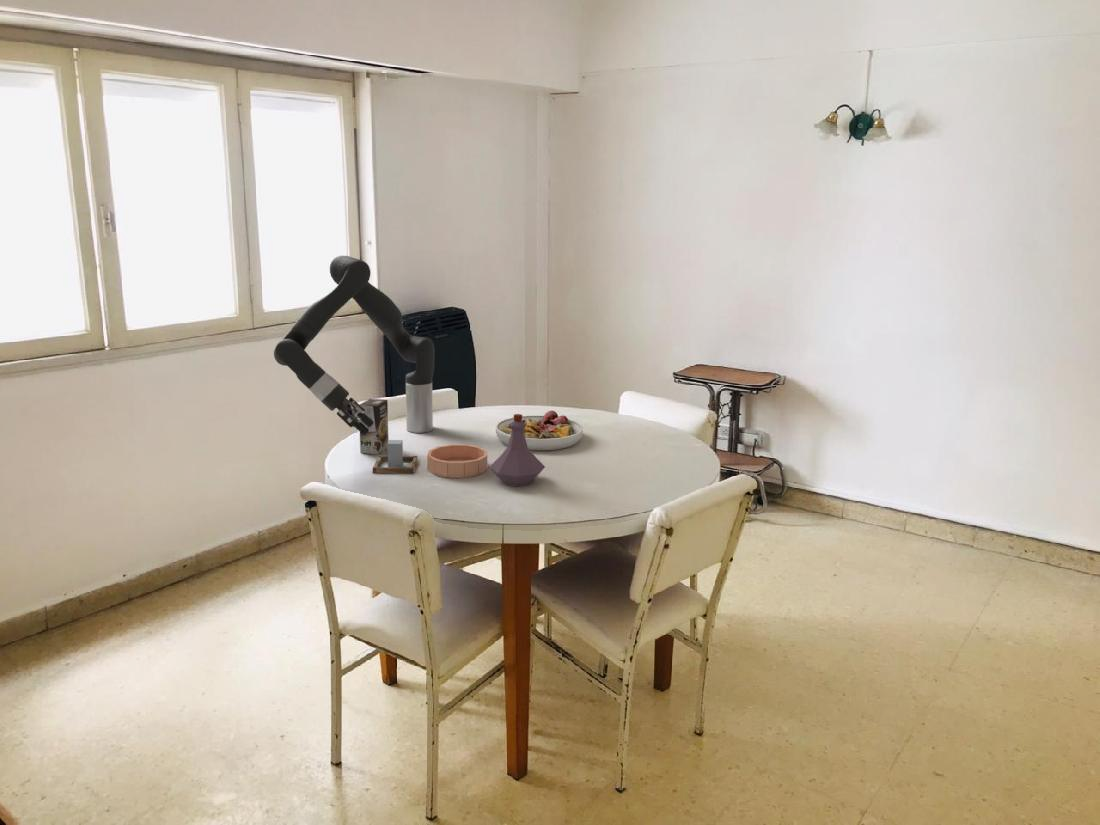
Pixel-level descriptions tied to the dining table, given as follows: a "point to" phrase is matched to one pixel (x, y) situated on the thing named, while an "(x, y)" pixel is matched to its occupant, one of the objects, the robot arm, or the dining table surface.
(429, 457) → the bowl
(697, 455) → the dining table surface
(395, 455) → the block
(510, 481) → the flask
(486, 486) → the dining table surface
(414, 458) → the tray frame
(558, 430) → the bowl
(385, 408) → the coffee box
